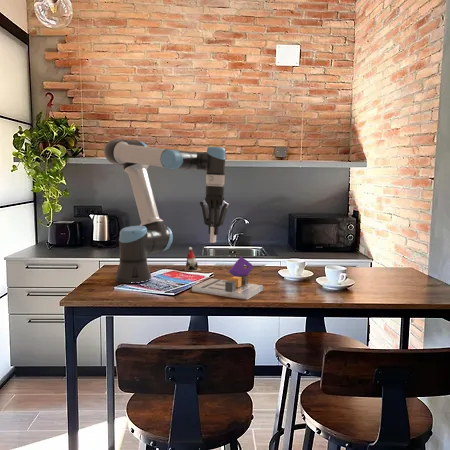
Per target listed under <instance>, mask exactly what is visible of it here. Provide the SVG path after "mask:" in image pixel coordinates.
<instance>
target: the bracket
mask: <svg viewBox="0 0 450 450" xmlns="http://www.w3.org/2000/svg"><path fill="white" fill-rule="evenodd" d="M244 266H246V268H244ZM252 270H253V264H252V263H251V262H250V261H248V260H247V259H245V258H244V257H243V256H239V258H238V259H237V260H236V261H235V263H234V264H233V265H232V267H230V269H229V270H228V273H229V274H231V275H232V276H233V277H234V276H236V277H239V275H248V276H249V274H250V273H251V271H252Z"/></svg>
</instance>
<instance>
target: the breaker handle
mask: <svg viewBox="0 0 450 450" xmlns="http://www.w3.org/2000/svg"><path fill="white" fill-rule="evenodd" d="M230 279H231V280H230V281H236V287H240V286H241V280H242V277H236V276H233V277H231V278H230Z"/></svg>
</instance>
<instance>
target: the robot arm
mask: <svg viewBox="0 0 450 450" xmlns="http://www.w3.org/2000/svg"><path fill="white" fill-rule="evenodd" d="M103 153H104V157H105V158H106V160H107V161H108V162H109V163H111V164H113V165H118V166H122V167H123V171H124V173H126V174H127V175H128V178H129V181H130V184H131V189H132V192H133V196H134V200H135V204H136V207H137V211H138V215H139V220H140V224H139V225H130V226H126V227H123V228H122V229H120V231H119V238H118V242H119V244H118V245H119V265H118V267H117V271H116V274H115V282H116V283H119V284H124V283H131V282H141V281H146V280H149V279H151V280H152V274H151V272H150V269H149V265H148V255H149V254H155V253H161V252H164V251H167V250H168V249H170V247H171V245H172V244H173V239H174V237H173V232H172V229H171V228H169V226H167V225H165V222H164V220H163V219H161V218H160V216H159V211H158V208H157V205H156V204H157V203H156V200H155V196H154V192H153V189H152V185H151V180H150V178H149V174H148V168H149V167H151V166H153V167H158V168H163V169H164V168H165V169H168V170H183V171H206V174H205V177H206V178H205V179H206V180H205V184H206V186H205V197H204V200H203V201H200V202H199V205H200V207H201V211H202V216H203V222H204V223H203V224H204V225H205V226H206V225H207V226H208V235H209V243H210V244H211V243H212V244H214V243H217V236H218V235H219V227H221V226H223V225H224V222H225V218H226V214H227V211H228V208H229V207H230V203H228V202H227V201H225V196H224V195H225V187H224V185H225V170H226V159H227V158H226V149H225V147H221V146H219V147H218V146H208V147H207V148H206V151H205V152H203V151H201V152H200V151H190V150H189V151H188V150H179V149H174V148H173V149H172V148H171V149H170V148H162V147H155V146H154V147H152V146H151V147H150V146H148V145H147V144H146V143H145V142H143V141H140V140H132V139H131V140H130V139H122V138H114V139H110V140H109V141H108V142H107V143H105V145H104V151H103ZM221 206H222V207H221Z"/></svg>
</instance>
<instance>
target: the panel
mask: <svg viewBox="0 0 450 450" xmlns="http://www.w3.org/2000/svg"><path fill="white" fill-rule="evenodd" d="M239 277H242V280H241V286H240V287H236V281H231V280H226V279H217V278H208V279H206V280H204V281H202V282H199V283H197V284H195V285H193V286H192V287H191V292H193V293H200V294H207V295H208V294H209V295H212V296H220V297H226V298H234V299H238V300H239V299H240V300H247V301H248V300H249V299H251V298H253V297H255V296H256V295H257V294H259V293H261V292H262V291H264V285H261V284H255V283H249V274H248V275H239Z"/></svg>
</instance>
